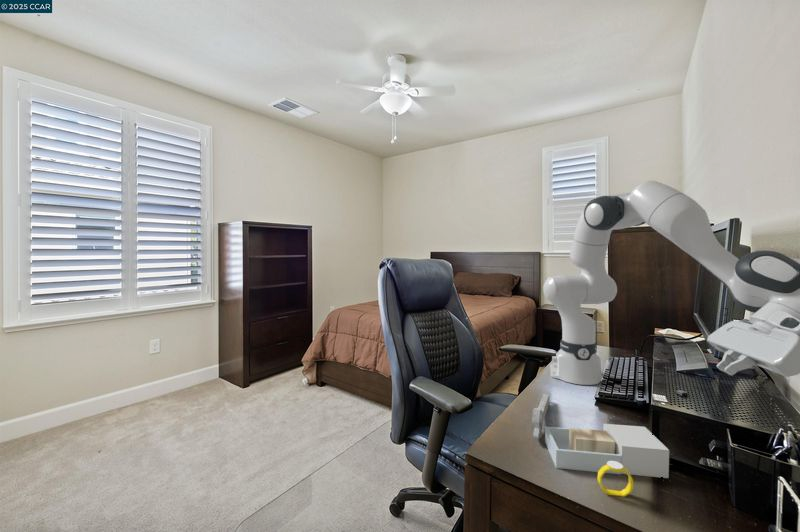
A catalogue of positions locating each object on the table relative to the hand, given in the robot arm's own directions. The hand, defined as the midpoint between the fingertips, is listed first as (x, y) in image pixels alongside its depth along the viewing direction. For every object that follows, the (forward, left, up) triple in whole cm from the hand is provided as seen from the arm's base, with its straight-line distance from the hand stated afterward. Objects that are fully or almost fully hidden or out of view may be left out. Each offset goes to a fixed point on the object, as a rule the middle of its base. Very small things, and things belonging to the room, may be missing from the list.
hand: (723, 370), depth 75 cm
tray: (0, -28, -22) cm, 36 cm away
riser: (0, -17, -22) cm, 28 cm away
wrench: (-17, -33, -22) cm, 43 cm away
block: (0, -22, -19) cm, 29 cm away
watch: (+12, -25, -22) cm, 36 cm away
